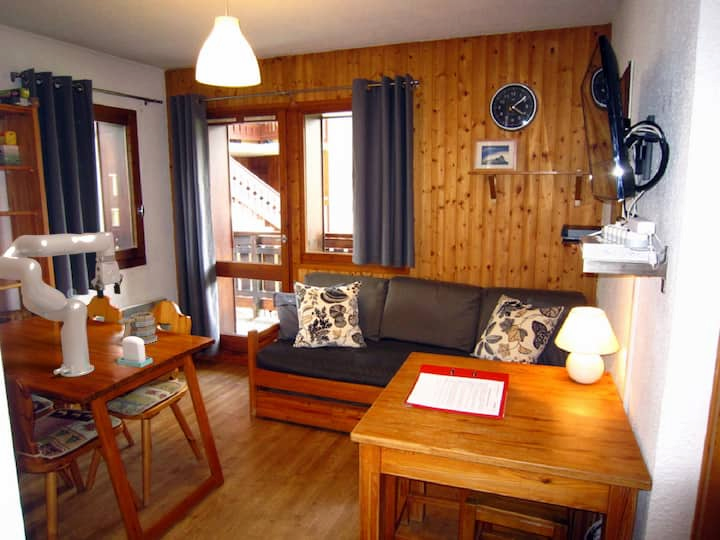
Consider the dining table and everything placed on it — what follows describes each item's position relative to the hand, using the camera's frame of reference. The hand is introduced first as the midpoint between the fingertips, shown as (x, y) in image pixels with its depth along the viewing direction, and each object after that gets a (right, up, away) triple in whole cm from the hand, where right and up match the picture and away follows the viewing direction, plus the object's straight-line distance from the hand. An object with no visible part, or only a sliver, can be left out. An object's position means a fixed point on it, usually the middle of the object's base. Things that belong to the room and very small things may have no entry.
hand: (109, 296), depth 234 cm
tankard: (+3, -25, +23) cm, 34 cm away
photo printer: (+15, -30, -6) cm, 34 cm away
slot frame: (+15, -30, -6) cm, 34 cm away
